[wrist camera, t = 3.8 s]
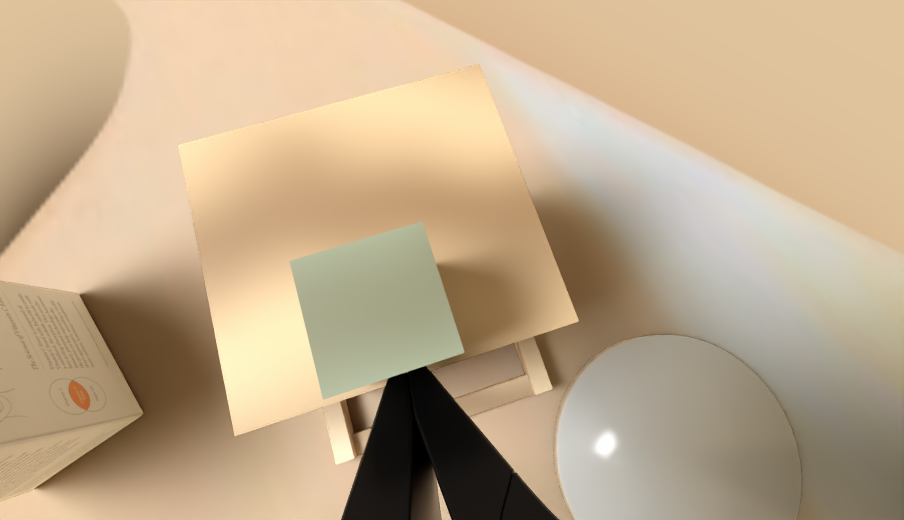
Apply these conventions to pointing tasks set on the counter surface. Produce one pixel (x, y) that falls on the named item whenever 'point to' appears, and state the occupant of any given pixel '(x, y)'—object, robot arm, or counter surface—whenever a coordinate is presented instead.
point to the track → (532, 382)
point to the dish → (674, 437)
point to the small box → (53, 386)
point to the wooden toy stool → (366, 245)
